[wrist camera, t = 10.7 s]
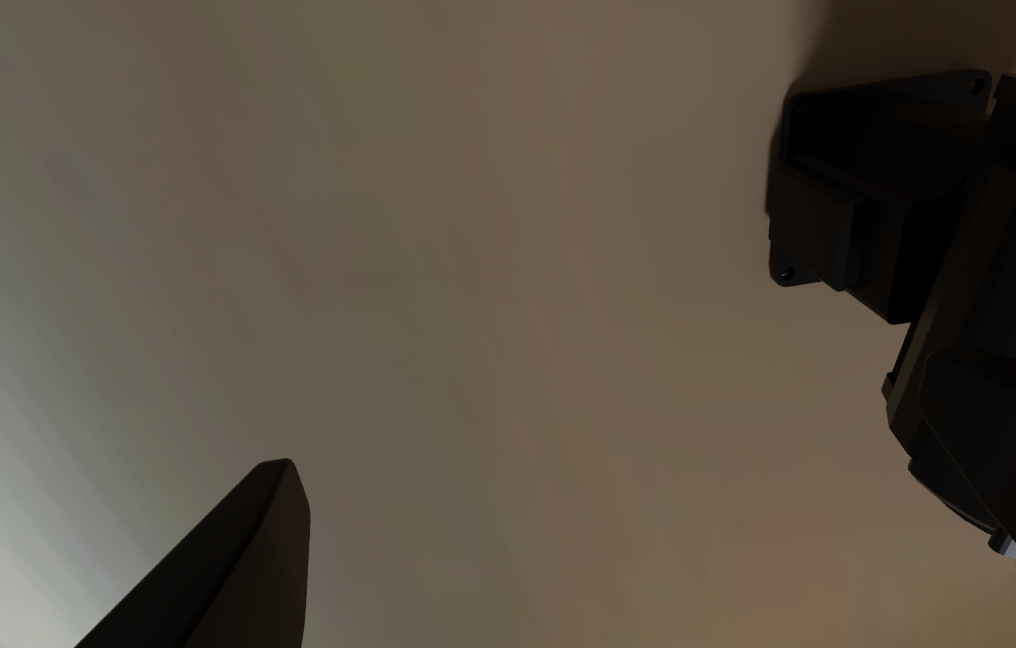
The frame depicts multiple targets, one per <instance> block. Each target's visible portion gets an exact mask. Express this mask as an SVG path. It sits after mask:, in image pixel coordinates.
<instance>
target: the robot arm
mask: <svg viewBox="0 0 1016 648" xmlns="http://www.w3.org/2000/svg"><path fill="white" fill-rule="evenodd" d="M974 80H975V85H974V87H973V89H972V90H971V91H970V92H969V86H970V84H971V83H972V82H973V81H974ZM991 86H992V77H991V74H990V73H989V72H987V71H986V70H980V69H972V68H970V69H963V70H956V71H949V72H942V73H935V74H929V75H922V76H915V77H908V78H901V79H894V80H887V81H880V82H873V83H867V84H860V85H853V86H846V87H839V88H832V89H825V90H818V91H812V92H805V93H800V94H797V95H795V96H793V97H792V98H791V99H790V100H789V101H788V103H787V104H786V106H785V110H784V117H783V128H782V139H781V151H780V162H779V164H778V165H777V167H776V168H775V169H774V177H773V189H772V201H771V213H770V225H769V240H770V241H771V242H772V253H771V264H770V276H771V278H772V279H773V280H774V281H775V282H776V283H777V284H778V285H780V286H782V287H790V286H796V285H803V284H809V283H815V282H821V281H823V282H824V283H826V284H827V285H828V286H829V287H831V288H832V289H833V290H835V291H837V292H842V291H846V292H848V293H849V294H850V295H852V296H853V297H854V298H856V299H857V300H858V301H860V302H861V303H862V304H864V305H865V306H866V307H868V308H869V309H870V310H872V311H873V312H874V313H876V314H877V315H878V316H880V317H881V318H882V319H884V320H885V321H886V322H888V323H889V324H893V325H897V324H903V323H909V322H911V324H910V327H909V329H908V332H907V334H906V337H905V340H904V342H903V345H902V347H901V350H900V353H899V355H898V358H897V360H896V363H895V365H894V368H893V371H892V372H889V373H887V375H886V378H885V380H884V383H883V386H882V388H881V391H882V393H883V395H884V398H885V400H886V402H887V405H886V411H887V417H888V424H889V428H890V430H891V431H892V433H893V434H894V435H895V437H896V438H897V440H898V441H899V442H900V444H901V445H902V447H903V448H904V450H905V451H906V452H907V454H908V455H909V456H910V457H911V459H910V462H909V464H908V470H909V471H910V472H911V474H912V475H913V476H914V478H915V479H916V480H917V481H918V482H919V483H920V484H921V485H923V486H924V487H925V488H926V489H928V490H929V491H930V492H931V493H932V494H934V495H935V496H936V497H937V498H938V499H940V500H941V501H942V502H943V503H944V504H945V505H946V506H947V507H948V508H949V509H951V510H952V511H953V512H955V513H956V514H957V515H959V516H960V517H961V518H963V519H964V520H965V521H967V522H969V523H971V524H972V525H974V526H976V527H977V528H979V529H981V530H983V531H984V532H986V533H988V534H990V535H991V537H990V539H989V541H988V545H989V547H990V548H991V549H992V550H994V551H995V552H997V553H999V554H1001V555H1004V556H1007V557H1010V558H1013V559H1016V74H1001V77H1000V79H999V82H998V85H997V87H996V90H995V92H994V95H993V98H994V99H997V101H996V104H995V106H994V109H993V111H992V114H991V115H989V114H985V112H986V107H987V103H988V99H989V95H990V90H991ZM804 104H807V111H806V113H805V114H804V115H803V116H802V117H800V118H799V117H798V111H799V109H800V107H801V106H802V105H804ZM789 267H790V268H791V269H790V271H789V273H788V274H787V275H784V276H782V274H783V271H784V270H785V269H787V268H789ZM310 520H311V517H310V507H309V502H308V499H307V497H306V494H305V491H304V488H303V485H302V483H301V480H300V477H299V474H298V471H297V469H296V466H295V464H294V463H293V461H292V460H290V459H288V458H283V459H277V460H271V461H265V462H261V463H259V464H258V465H257V466H255V467H254V468H253V469H252V470H251V471H250V472H249V473H248V474H247V475H246V476H245V477H244V478H243V479H242V480H241V481H240V482H239V483H238V484H237V485H236V486H235V487H234V488H233V489H232V490H231V491H230V492H229V493H228V494H227V495H226V496H225V497H224V498H223V499H222V500H221V501H220V502H219V503H218V504H217V505H216V506H215V507H214V508H213V509H212V510H211V511H210V512H209V513H208V514H207V515H206V516H205V517H204V518H203V519H202V520H201V521H200V522H199V523H198V524H197V525H196V526H195V527H194V528H193V529H192V530H191V531H190V532H189V533H188V534H187V535H186V536H185V537H184V538H183V539H182V540H181V541H180V542H179V543H178V544H177V545H176V546H175V547H174V548H173V549H172V550H171V551H170V552H169V553H168V554H167V555H166V556H165V557H164V558H163V559H162V560H161V561H160V562H159V563H158V564H157V565H156V566H155V567H154V568H153V569H152V570H151V571H150V572H149V573H148V574H147V575H146V576H145V577H144V578H143V579H142V580H141V581H140V582H139V583H138V584H137V585H136V586H135V587H134V588H133V589H132V590H131V591H130V592H129V593H128V594H127V595H126V596H125V597H124V598H123V599H122V600H121V601H120V602H119V603H118V604H117V605H116V606H115V607H114V608H113V609H112V610H111V611H110V612H109V613H108V614H107V615H106V616H105V617H104V618H103V619H102V620H101V621H100V622H99V623H98V624H97V625H96V626H95V627H94V628H93V629H92V630H91V631H90V632H89V633H88V634H87V635H86V636H85V637H84V638H83V639H82V640H81V641H80V642H79V643H78V644H77V645H76V646H75V647H74V648H301V646H302V639H303V632H304V625H305V613H306V596H307V577H308V559H309V540H310Z"/></svg>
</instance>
